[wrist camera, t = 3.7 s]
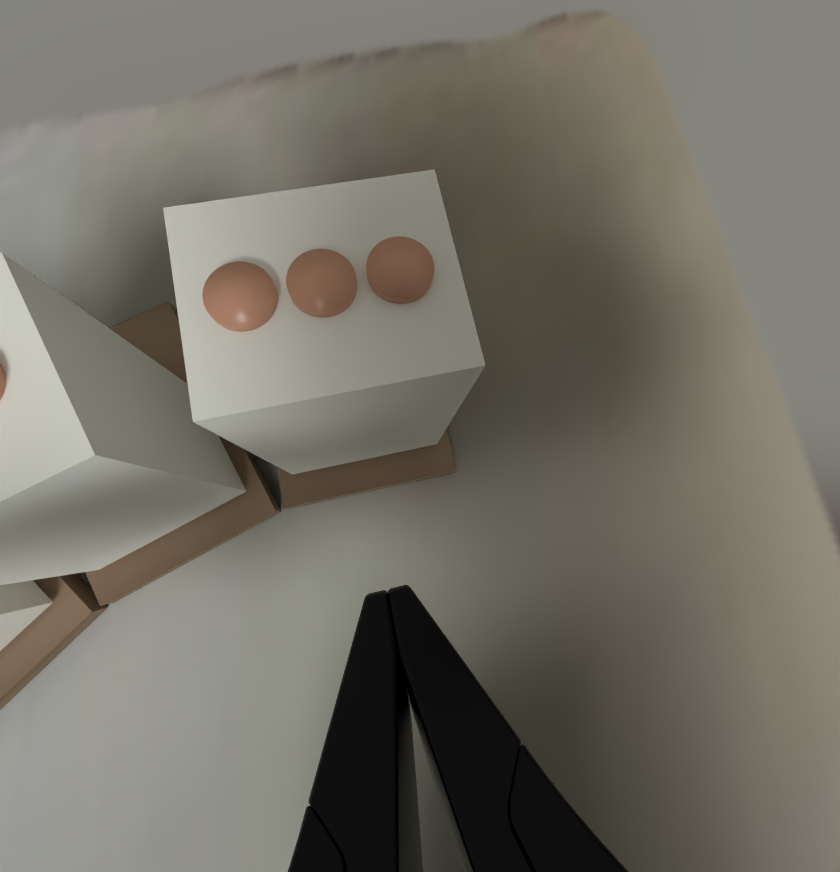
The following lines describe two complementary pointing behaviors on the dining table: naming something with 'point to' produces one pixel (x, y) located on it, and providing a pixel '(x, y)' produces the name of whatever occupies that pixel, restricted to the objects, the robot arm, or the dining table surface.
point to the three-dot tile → (324, 319)
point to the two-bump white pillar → (91, 440)
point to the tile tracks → (81, 606)
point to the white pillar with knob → (19, 608)
